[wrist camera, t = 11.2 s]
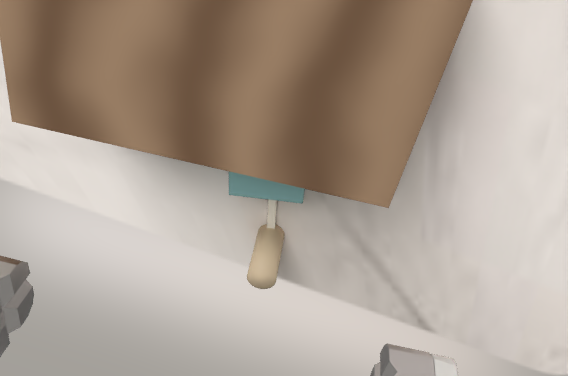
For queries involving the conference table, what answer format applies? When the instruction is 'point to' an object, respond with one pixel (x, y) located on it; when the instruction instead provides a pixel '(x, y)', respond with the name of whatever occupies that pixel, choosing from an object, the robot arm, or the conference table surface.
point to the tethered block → (269, 234)
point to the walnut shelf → (238, 81)
